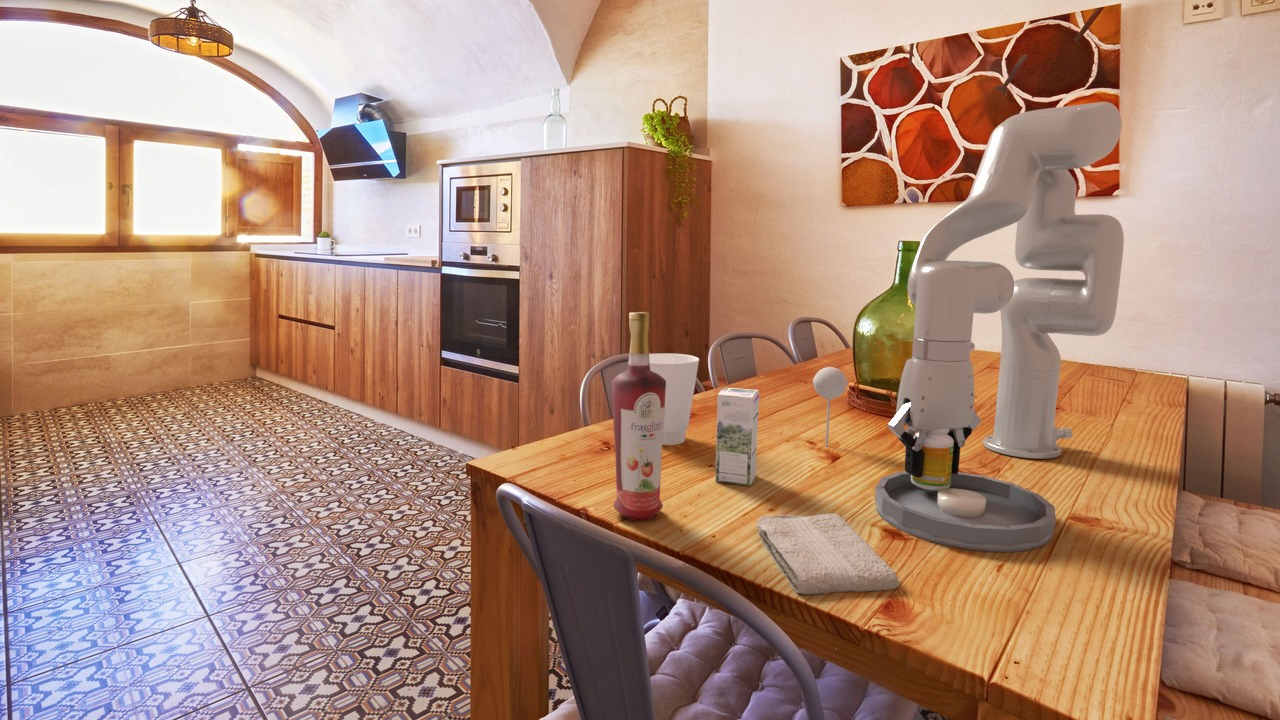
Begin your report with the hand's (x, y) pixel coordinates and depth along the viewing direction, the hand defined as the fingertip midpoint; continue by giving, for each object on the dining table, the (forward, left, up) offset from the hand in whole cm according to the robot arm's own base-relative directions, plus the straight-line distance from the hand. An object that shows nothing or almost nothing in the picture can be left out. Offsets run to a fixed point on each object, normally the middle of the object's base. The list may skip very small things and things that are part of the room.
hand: (931, 471), depth 99 cm
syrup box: (+24, -15, -5) cm, 29 cm away
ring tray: (0, +7, -4) cm, 8 cm away
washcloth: (+25, +13, -5) cm, 29 cm away
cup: (+28, -39, -5) cm, 49 cm away
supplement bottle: (0, 0, -2) cm, 2 cm away
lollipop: (0, -28, -5) cm, 29 cm away
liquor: (+43, -5, -5) cm, 44 cm away
